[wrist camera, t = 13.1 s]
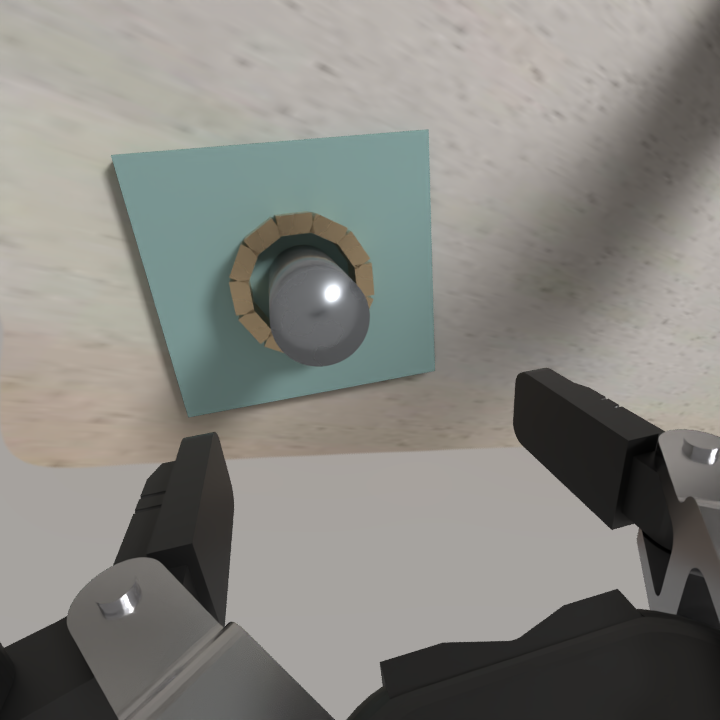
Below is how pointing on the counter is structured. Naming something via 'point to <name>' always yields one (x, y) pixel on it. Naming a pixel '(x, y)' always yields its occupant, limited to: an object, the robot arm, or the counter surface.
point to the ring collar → (268, 235)
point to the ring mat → (246, 212)
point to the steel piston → (315, 307)
